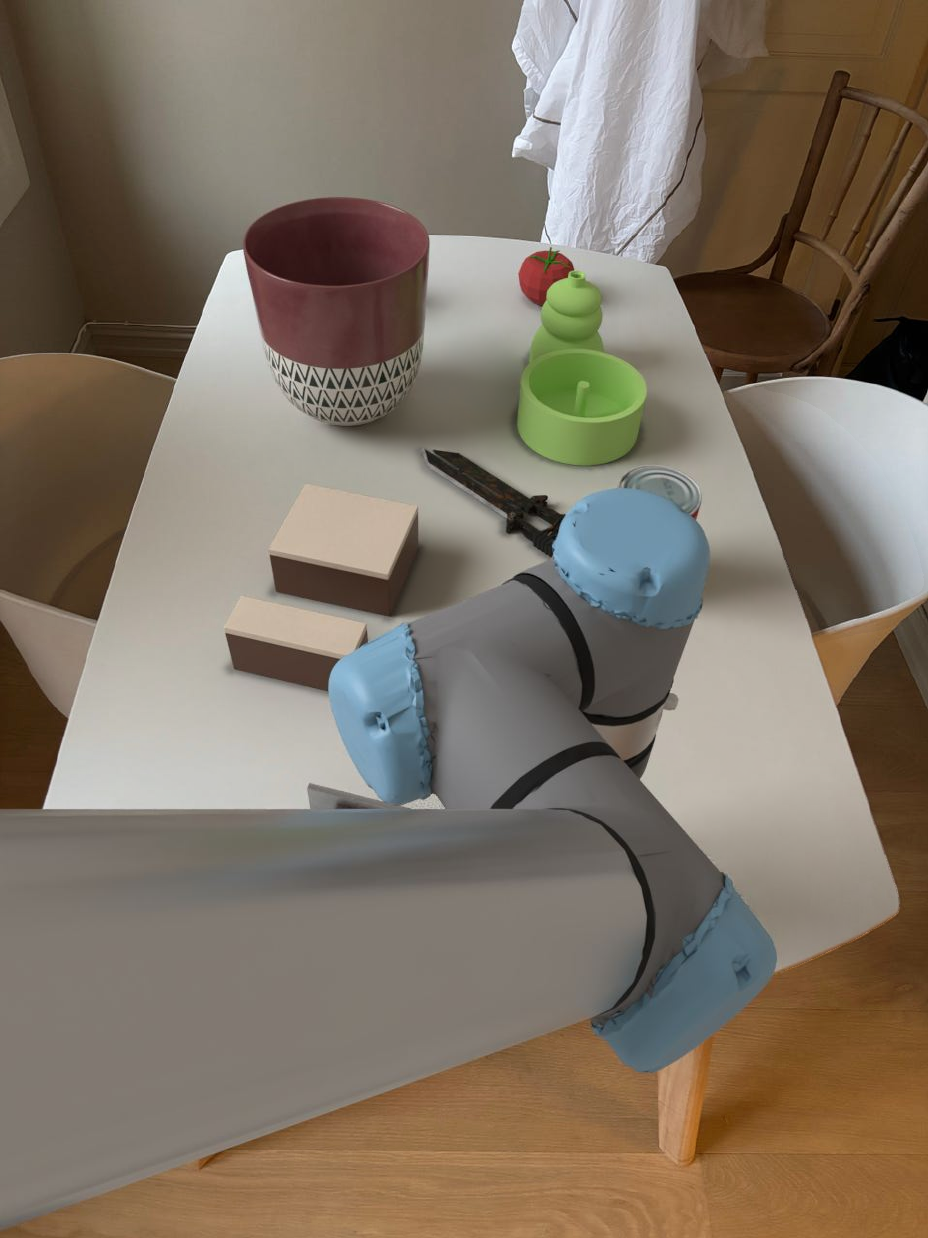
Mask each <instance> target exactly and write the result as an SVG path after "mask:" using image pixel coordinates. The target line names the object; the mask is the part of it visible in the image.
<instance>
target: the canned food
mask: <svg viewBox="0 0 928 1238" xmlns="http://www.w3.org/2000/svg"><path fill="white" fill-rule="evenodd" d="M617 488H631V489H639V490H644V491H649V492H652V493H656V494H659V495H661V496H664V497H666V498H668V499H670V500H672V501H674V502H675V503H677V504H679V505H680V506H681V507H682V508H683V509H684V510H685V511H686V512H687V513H689V514H690V515H691V516H692V517H693V518H695V520H696V521H697V519H698V515H699V512H700V508H701V504H702V501H703V500H702V499H703V494H702V492H701V488H700V486H699V485H698V483H697V482H696V481H695V480H694V479H693V478H692V477H691V476H689V474H687V473H685V472H683V471H681V470H679V469H677V468H674V467H671V466H669V465H662V464H644V465H639V466H636V467H635V466H634V467H633V468H631V469H629V470H627V471H626V472H625V473H624V474H623V475H622V476H621V477H620V478H619V481H618V483H617Z"/></svg>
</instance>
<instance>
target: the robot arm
mask: <svg viewBox="0 0 928 1238" xmlns="http://www.w3.org/2000/svg"><path fill="white" fill-rule="evenodd" d="M565 514H566V515H565V517H564V519H563V520H562V522H561V525H560V528H559V530H558V531H557V532H558V535H557V537H556V538H555V540H554V541H553V543H552V548H553V549H552V551H553V556H552V557H549V559H548V560H545V561H543V562H541V563H538V564H536V565H534V566H532V567H529V568H527V569H524V570H523V571H519V572H518V573H516V574H514V576H512V578H509V579H507V580H505V581H504V582H503V583H502V584H501V585H498V586H496V587H493V588H491V589H488V590H486V591H484V592H481V593H479V594H476V595H473V596H471V597H469V598H466V599H463V600H462V601H459V602H456V603H454V604H452V605H449V606H446V607H444V608H442V609H439V610H437V611H434V612H432V613H430V614H427V615H425V616H422V617H420V618H417V619H415V620H412V621H410V622H408V621H406V622H402V623H401V624H398V625H397V626H396V627H394V628H392V629H390V630H388V631H386V632H385V633H383V634H381V635H379V636H377V637H376V638H374V639H372V640H369V641H368V643H366V644H364V645H362V646H361V647H360V648H358V649H357V650H355V651H353V652H351V653H350V654H348V655H346V656H344V657H343V658H342V659H341V660H339V661H338V662H337V663H336V665H335V666H334V667H333V669H332V671H331V674H330V678H329V686H328V691H327V692H328V699H329V706H330V709H331V713H332V716H333V720H334V723H335V725H336V728H337V731H338V733H339V736H340V738H341V741H342V743H343V745H344V747H345V750H346V751H347V754H348V755H349V758H350V759H351V761H352V763H353V766H354V767H355V769H356V770H357V772H358V774H359V775H360V777H361V778H362V780H363V781H364V783H365V784H366V785H367V787H368V788H370V789H372V790H373V791H374V793H375V795H376V796H377V798H378V799H379V800H380V801H383V802H385V803H388V804H390V805H394V806H404V805H407V804H410V803H412V802H415V801H418V800H421V801H424V800H426V799H428V798H430V797H431V795H435V796H436V798H437V799H438V800H439V802H440V803H441V805H442V806H443V808H411V809H310V808H0V1232H1V1231H4V1230H6V1229H9V1228H12V1227H14V1226H17V1225H20V1224H23V1223H25V1222H28V1221H32V1220H33V1219H37V1218H39V1217H42V1216H45V1215H48V1214H51V1213H53V1212H56V1211H59V1210H62V1209H65V1208H67V1207H71V1206H73V1205H76V1204H79V1203H81V1202H83V1201H87V1200H89V1199H92V1198H95V1197H98V1196H101V1195H103V1194H106V1193H109V1192H111V1191H115V1190H117V1189H120V1188H123V1187H125V1186H129V1185H131V1184H134V1183H137V1182H139V1181H143V1180H145V1179H148V1178H150V1177H153V1176H155V1175H159V1174H161V1173H162V1174H163V1173H165V1172H167V1171H171V1170H173V1169H175V1168H178V1167H182V1166H184V1165H187V1164H190V1163H193V1162H195V1161H198V1160H200V1159H203V1158H206V1157H209V1156H212V1155H214V1154H217V1153H220V1152H223V1151H226V1150H228V1149H231V1148H234V1147H237V1146H239V1145H242V1144H245V1143H248V1142H250V1141H253V1140H256V1139H258V1138H259V1139H260V1138H262V1137H265V1136H267V1135H270V1134H272V1133H276V1132H279V1131H281V1130H284V1129H286V1128H289V1127H292V1126H295V1125H297V1124H300V1123H304V1122H305V1121H309V1120H312V1119H315V1118H317V1117H320V1116H322V1115H325V1114H328V1113H331V1112H333V1111H337V1110H339V1109H342V1108H345V1107H348V1106H351V1105H354V1104H356V1103H359V1102H362V1101H365V1100H367V1099H371V1098H373V1097H376V1096H378V1095H381V1094H384V1093H387V1092H389V1091H392V1090H394V1089H397V1088H400V1087H403V1086H406V1085H409V1084H412V1083H414V1082H417V1081H420V1080H422V1079H425V1078H429V1077H431V1076H434V1075H436V1074H439V1073H442V1072H445V1071H448V1070H450V1069H453V1068H456V1067H459V1066H461V1065H464V1064H467V1063H470V1062H473V1061H475V1060H478V1059H481V1058H484V1057H486V1056H489V1055H492V1054H494V1053H495V1054H496V1053H497V1052H500V1051H503V1050H506V1049H508V1048H511V1047H514V1046H516V1045H517V1046H518V1045H520V1044H523V1043H525V1042H529V1041H531V1040H533V1039H536V1038H539V1037H541V1036H545V1035H547V1034H550V1033H553V1032H556V1031H559V1030H561V1029H564V1028H567V1027H570V1026H573V1025H575V1024H578V1023H581V1022H583V1021H586V1020H590V1021H589V1022H590V1029H591V1030H592V1031H593V1033H594V1035H595V1037H598V1038H601V1039H602V1040H604V1041H605V1042H606V1043H607V1044H608V1046H609V1047H610V1048H611V1050H612V1051H613V1052H614V1054H615V1055H616V1056H617V1057H618V1059H619V1060H620V1062H621V1063H622V1064H623V1065H624V1066H626V1067H629V1068H631V1069H632V1070H634V1071H635V1072H637V1073H639V1074H641V1073H642V1074H644V1073H645V1074H646V1073H648V1074H653V1073H657V1072H659V1071H661V1070H663V1069H664V1068H667V1067H669V1066H671V1065H672V1064H674V1063H676V1062H677V1061H679V1060H681V1058H683V1057H685V1056H686V1055H687V1054H689V1053H690V1052H691V1051H693V1050H694V1049H696V1048H697V1047H699V1046H700V1045H701V1044H703V1043H704V1042H706V1041H707V1040H708V1039H709V1038H710V1037H712V1036H713V1035H714V1034H715V1033H716V1032H718V1031H719V1030H720V1029H722V1028H723V1027H724V1026H726V1025H727V1023H729V1022H730V1021H731V1020H732V1019H733V1018H734V1017H736V1016H737V1015H738V1014H739V1013H741V1011H742V1010H744V1009H745V1008H746V1007H747V1006H748V1005H749V1004H750V1003H751V1002H752V1001H753V1000H754V999H755V998H756V997H757V996H758V995H759V993H761V992H762V990H763V989H764V988H765V987H766V985H767V984H768V983H769V982H770V980H771V979H772V977H773V975H774V973H775V971H776V967H777V962H778V955H777V954H778V953H777V949H776V946H775V942H774V940H773V938H772V937H771V936H770V934H769V932H768V931H767V930H766V929H765V927H764V926H763V925H762V923H761V922H760V920H759V918H757V916H756V915H755V914H754V913H753V911H752V910H751V909H750V907H749V905H748V904H747V903H746V902H745V900H744V899H743V898H742V896H741V894H740V893H739V892H738V890H736V888H735V887H734V882H733V880H732V879H731V878H730V877H729V875H728V874H726V873H725V872H724V871H721V870H719V868H718V867H717V866H716V864H715V863H713V861H712V860H711V859H710V858H709V857H708V856H707V854H706V853H705V852H704V851H703V850H702V849H701V848H700V846H699V845H698V844H697V843H696V842H695V841H694V840H693V839H692V837H691V836H690V835H689V834H688V833H687V832H686V831H685V829H684V828H683V827H682V826H681V825H680V823H678V822H677V820H676V819H675V818H674V817H673V815H671V813H670V812H669V811H668V810H667V809H666V808H665V807H664V806H663V804H662V803H661V802H660V801H659V799H657V798H656V797H655V795H654V794H653V793H652V792H651V791H650V789H649V788H648V787H647V786H646V785H645V784H644V783H643V781H642V780H641V778H642V777H643V776H644V773H645V771H646V769H647V767H648V763H649V761H650V757H651V754H652V751H653V748H654V745H655V742H656V737H657V732H658V729H659V727H660V724H661V721H662V717H663V713H664V710H666V711H675V710H676V708H677V707H678V703H679V697H678V695H677V694H675V693H674V692H671V689H672V688H673V684H674V681H675V680H674V679H675V675H676V673H677V670H678V667H679V664H680V661H681V659H682V656H683V654H684V650H685V648H686V645H687V642H688V640H689V637H690V634H691V632H692V629H693V626H694V623H695V620H696V619H698V617H699V614H700V613H701V611H702V609H703V605H704V604H703V602H704V600H703V592H704V588H705V584H706V579H707V576H708V571H709V567H710V560H711V559H710V558H711V550H710V545H709V541H708V538H707V536H706V533H705V530H704V529H703V527H702V526H701V524H700V523H699V522H698V521H697V519H696V520H695V518H693V517H692V516H691V515H690V514H689V513H687V512H686V511H685V510H684V509H683V508H682V507H681V506H680V505H679V504H677V503H675V502H674V501H672V500H670V499H668V498H666V497H664V496H661V495H659V494H656V493H652V492H649V491H644V490H639V489H631V488H618V487H617V488H616V487H615V488H608V489H604V490H603V489H602V490H599V491H595V492H593V493H589V494H588V495H586V496H584V497H583V498H581V499H580V500H577V502H576V503H575V504H574V505H573V507H571V508H570V509H569V510H568V511H567V513H565Z"/></svg>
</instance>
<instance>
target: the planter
mask: <svg viewBox="0 0 928 1238" xmlns="http://www.w3.org/2000/svg"><path fill="white" fill-rule="evenodd" d="M430 244H431V242H430V235H429V233H428V231H427V229H426V227H425V226H424V224H423V223H422V222H421V221H420V220H419V219H418V218H416V216H414V215H412V214H411V213H409V212H408V211H406V210H404V209H401V208H400V207H397V206H394V205H392V204H389V203H385V202H382V201H378V200H373V199H367V198H362V197H350V196H348V197H347V196H328V197H315V198H308V199H303V200H298V201H294V202H290V203H288V204H287V203H286V204H284V205H281V206H279V207H276V208H274V209H272V210H269V211H268V212H266V213H264V214H263V215H261V216H260V217H258V218H257V219H255V220H254V221H253V222H252V223H251V224H250V225H249V227H248V228H247V229H246V231H245V233H244V235H243V238H242V252H243V256H244V257H243V258H244V262H245V268H246V272H247V277H248V282H249V286H250V291H251V295H252V300H253V305H254V309H255V315H256V320H257V324H258V328H259V334H260V338H261V342H262V347H263V351H264V356H265V358H266V362H267V365H268V368H269V370H270V372H271V374H272V377H273V379H274V381H275V383H276V385H277V386H278V388H279V390H280V391H281V393H282V394H283V396H284V397H285V398H286V399H287V400H288V401H289V402H290V403H291V404H292V405H293V406H294V407H295V408H297V410H299V411H300V412H302V413H304V414H305V415H307V416H308V417H310V418H312V419H314V420H317V421H318V422H322V423H325V424H329V425H333V426H339V427H340V426H341V427H352V426H354V427H355V426H361V425H365V424H368V423H371V422H373V421H377V420H378V419H380V418H382V417H384V416H386V415H387V414H389V413H390V412H392V411H393V410H394V409H395V408H397V407H398V406H399V404H401V403H402V402H403V400H405V398H406V397H407V395H408V394H409V393H410V392H411V389H412V387H413V386H414V383H415V382H416V378H417V376H418V373H419V370H420V366H421V363H422V358H423V350H424V343H425V331H426V330H425V328H426V316H427V299H428V283H429V281H428V280H429V270H430V249H431V248H430V246H431V245H430Z"/></svg>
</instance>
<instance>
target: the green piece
mask: <svg viewBox="0 0 928 1238" xmlns="http://www.w3.org/2000/svg"><path fill="white" fill-rule="evenodd" d="M574 270H575V269H574ZM586 277H587V274H586V273H585V272H584V271H582V270H575V271H571V272H569V274H568V278H565V279H562V280H559V281H557V282H555V283H554V284H552V286H551V287H550V288H549V289H548V291H547V297H546V299H547V300H546V302H545V303H544V305H542V308H541V310H540V311H541V312H540V319H541V320H540V321H541V323H542V325H541V326H540V327H539V328H538V329H537V331H536V332H535V334H534V336H533V337H532V340H531V345H530V347H529V348H530V350H529V359H528V364H527V365H526V366H525V368H524V370H523V371H522V374H521V378H520V386H519V398H518V408H517V419H516V426H517V427H516V428H517V432H518V434H519V436H520V438H521V439H522V440H523V442H524V443H525V445H526V446H528V447H529V448H530V450H532V451H534V452H535V453H536V454H538V455H540V456H542V457H544V458H546V459H549V460H550V461H553V462H557V463H561V464H564V465H571V466H597V465H603V464H607V463H611V462H614V461H616V460H619V459H620V458H622V457H624V456H625V455H626V454H628V453H629V452H630V451H631V450H632V449H633V447H634V446H635V444H636V442H637V441H638V435H639V431H640V427H641V421H642V419H643V413H644V407H645V403H646V399H647V392H648V389H647V385H646V381H645V379H644V378H643V376H642V374H641V373H640V372H639V371H638V370H637V369H636V368H635V367H634V366H633V365H631V364H630V363H629V362H627V361H626V360H624V359H621V358H620V357H617V356H615V355H612V354H610V353H606V352H605V349H604V342H603V338H602V337H601V334H600V332H599V330H600V328H601V326H602V324H603V323H602V322H603V317H604V316H603V315H604V313H603V309H602V306H601V305H602V300H603V295H602V293H601V291H600V289H599V287H597V285H595V284H594V283H593V282H591V281H589V280H587V279H586Z"/></svg>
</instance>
